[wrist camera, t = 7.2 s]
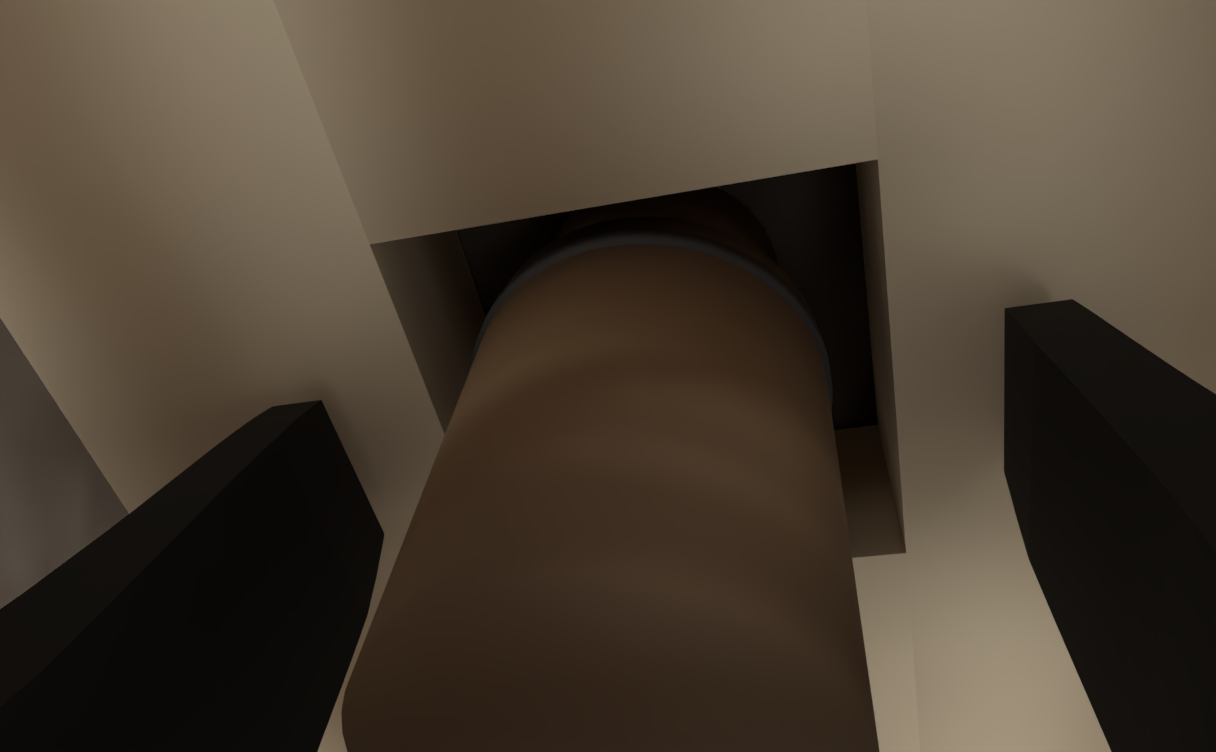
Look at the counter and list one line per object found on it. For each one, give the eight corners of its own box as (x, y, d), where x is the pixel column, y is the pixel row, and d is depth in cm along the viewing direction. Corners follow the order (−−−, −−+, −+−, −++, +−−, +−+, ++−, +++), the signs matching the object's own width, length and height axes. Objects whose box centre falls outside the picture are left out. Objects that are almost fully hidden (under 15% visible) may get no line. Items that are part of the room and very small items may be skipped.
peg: (801, 116, 11) (875, 550, 5) (825, 389, 13) (898, 911, 8) (479, 165, 12) (246, 593, 6) (552, 416, 14) (428, 908, 8)
